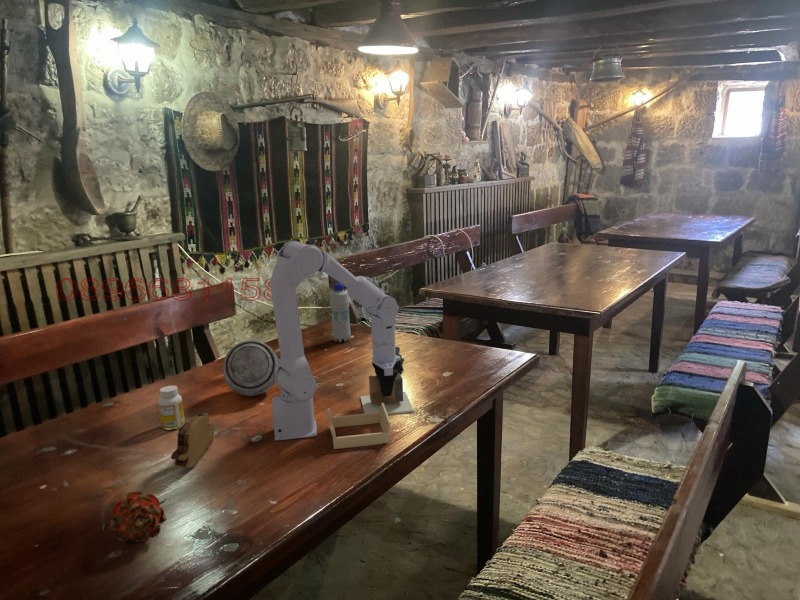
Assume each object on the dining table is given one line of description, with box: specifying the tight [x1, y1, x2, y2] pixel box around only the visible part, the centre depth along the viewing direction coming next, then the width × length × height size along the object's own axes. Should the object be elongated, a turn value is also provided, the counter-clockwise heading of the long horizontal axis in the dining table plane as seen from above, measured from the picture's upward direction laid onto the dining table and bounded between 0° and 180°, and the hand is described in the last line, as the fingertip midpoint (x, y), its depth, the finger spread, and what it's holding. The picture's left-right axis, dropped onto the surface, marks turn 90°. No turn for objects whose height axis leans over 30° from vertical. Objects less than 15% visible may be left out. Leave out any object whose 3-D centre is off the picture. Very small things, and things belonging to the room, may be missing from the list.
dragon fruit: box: [101, 490, 167, 543], centre depth 104 cm, size 8×8×12 cm
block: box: [368, 372, 404, 404], centre depth 153 cm, size 8×4×6 cm, turn 100°
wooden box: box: [326, 403, 392, 450], centre depth 138 cm, size 13×11×5 cm
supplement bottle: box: [157, 385, 186, 428], centre depth 145 cm, size 5×5×10 cm
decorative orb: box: [222, 339, 279, 397], centre depth 163 cm, size 15×14×15 cm
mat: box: [359, 391, 415, 416], centre depth 154 cm, size 12×12×1 cm
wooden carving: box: [170, 412, 216, 469], centre depth 128 cm, size 16×5×10 cm, turn 178°
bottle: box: [329, 282, 352, 343], centre depth 205 cm, size 7×7×20 cm
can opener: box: [393, 346, 405, 374], centre depth 181 cm, size 18×7×6 cm, turn 174°
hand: (385, 392), depth 154 cm, fingers closed on block, 4 cm apart
